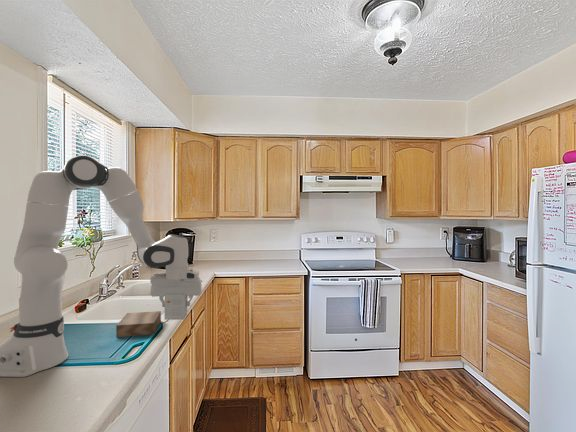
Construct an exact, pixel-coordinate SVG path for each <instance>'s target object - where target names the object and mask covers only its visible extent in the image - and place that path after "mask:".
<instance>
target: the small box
mask: <svg viewBox="0 0 576 432" xmlns="http://www.w3.org/2000/svg"><path fill="white" fill-rule="evenodd" d="M164 301H165V307H164V320H167V321H169V320H173V321H174V320H175V321H177V320H180V321H181V320H185V319H186V317H187V316H188V306H186V302H187V301H188V296H185V294H165V296H164Z"/></svg>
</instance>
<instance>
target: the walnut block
mask: <svg viewBox="0 0 576 432" xmlns="http://www.w3.org/2000/svg"><path fill="white" fill-rule="evenodd" d="M161 312H162V311H158V310H156V311H144V312H143V311H142V312H127V313H126V314H125V315H124V316H123V317H122V319H121V320H119V322H117V324H116V325H115V326H116V332H115V333H116V335H115V336H116V338H119V337H132V336H133V337H134V336H149V335H154V334H155V333H156V331H157V330H158V327H159V326H160V324H161V322H162V313H161Z"/></svg>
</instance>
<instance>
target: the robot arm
mask: <svg viewBox="0 0 576 432" xmlns="http://www.w3.org/2000/svg"><path fill="white" fill-rule="evenodd" d="M91 188H96V189H99V190H100V191H101V192H102V194H103V195H104V196H105V199H106V201H107V203H108V204H109V206H110V208H111V209H112V211H113V212H114V214H116V216H117V217H118V218H119V219H120V220H121V221H122V222H123V224H125V226H126V227H127V229H128V230H129V232H130V234H131V236H132V238H133V241H134V242H135V245H136V255H137V258H138V260H139V261H140V262H141V263H143V264H144V265H146V266H147V267H148V268H153V269H157V268H162V267H165V273H154V274H152V275H151V276H150V284H151V286H150V291H149V292H150V293H149V294H150V296H151V297H154V298H155V297H158V299H159V302H161V303H162V304H161V308H165V294H185V296H187V297H189V300H187V302H186V306H187V307H191V301H192V300H193V299H194V296H196V297H197V296H200V295H201V294H202V291H203V289H202V281H201V278H200V277H199V275H200V272H199V271H198V270H196V269H192V268H189V262H188V258H189V242H188V238H187V237H185V236H184V235H180V234H178V235H177V234H168V235H167V236H166V237H165V238H163V239H160V240H158V241H156V240H155V239H153V237H152V236H151V234H150V232H149V230H148V228H147V226H146V223H145V221H144V217H143V215H144V210H145V209H144V208H145V206H144V202H143V198H142V195H141V194H140V192H139V190H138V187H137V186H136V185H135V183H134V181H133V180H132V178H131V177H130V175H129V174H128V173H127V172H126V170H125V169H123V168H122V167H115V166H114V167H107V166H106V165H104V164H103V163H102V162H100V161H98V159H96V158H94V157H92V156H90V155H83V154H82V155H81V154H80V155H76V156H73V157H71V158H70V159H68V160H67V162H66V163H65V164H64V166H63V167H62V169H61V170H59V171H53V170H46V171H45V170H44V171H40V172H38V173H36V174H35V175H34V178H33V179H32V182H31V185H30V186H29V191H28V195H27V201H26V207H25V213H24V219H23V224H22V225H23V226H22V230H21V233H20V236H19V239H18V242H17V246H16V251H15V255H14V258H13V264H14V267H15V270H16V271H17V272H19V273H20V274H21V278H22V280H21V281H22V282H21V291H20V296H19V299H18V309H19V310H18V317H19V319H18V321H19V322H18V323H16V324H14V326H12V327H10V329H9V330H10V331H9V332H10V333H11V332H13V335H11V336H10V337H8V338H7V339H5V340H4V341H3V342H2V343H1V344H0V377H6V378H10V377H11V378H13V377H15V378H16V377H18V378H24V377H25V378H26V377H28V376H31V375H33V374H36V373H39V372H40V371H43V370H47V369H51V368H53V367H55V366H58V365H60V364H61V363H63V362H65V361H66V360H67V359H68V358H69V352H68V349H67V347H66V342H65V338H64V331H65V324H64V323H65V320H64V315H63V307H62V306H63V303H62V300H63V297H62V293H63V286H64V282H65V277H66V276H65V275H66V271H67V270H68V265H69V264H68V261H67V258H66V256H65V255H64V253H63V252H62V251H60V250H59V249H58V248H59V244H60V241H61V239H62V235H63V234H64V232H65V230H66V225H67V219H68V212H69V205H70V198H71V195H72V192H73V191H76V190H85V189H86V190H87V189H91Z"/></svg>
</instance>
